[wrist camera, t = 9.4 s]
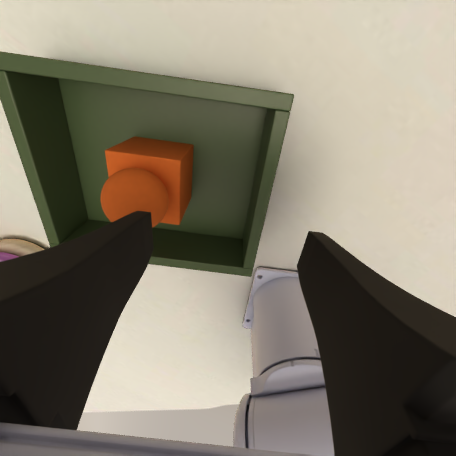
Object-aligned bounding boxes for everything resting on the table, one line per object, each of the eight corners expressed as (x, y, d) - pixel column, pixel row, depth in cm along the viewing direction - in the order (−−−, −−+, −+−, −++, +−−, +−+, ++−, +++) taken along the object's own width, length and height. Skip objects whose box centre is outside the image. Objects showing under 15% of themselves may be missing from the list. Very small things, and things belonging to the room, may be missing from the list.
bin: (249, 242, 22) (251, 277, 18) (86, 221, 22) (51, 251, 18) (280, 92, 16) (294, 94, 12) (50, 58, 16) (-18, 48, 11)
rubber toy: (191, 198, 20) (166, 254, 13) (138, 191, 19) (87, 244, 13) (193, 144, 17) (165, 179, 11) (134, 136, 17) (68, 166, 11)
